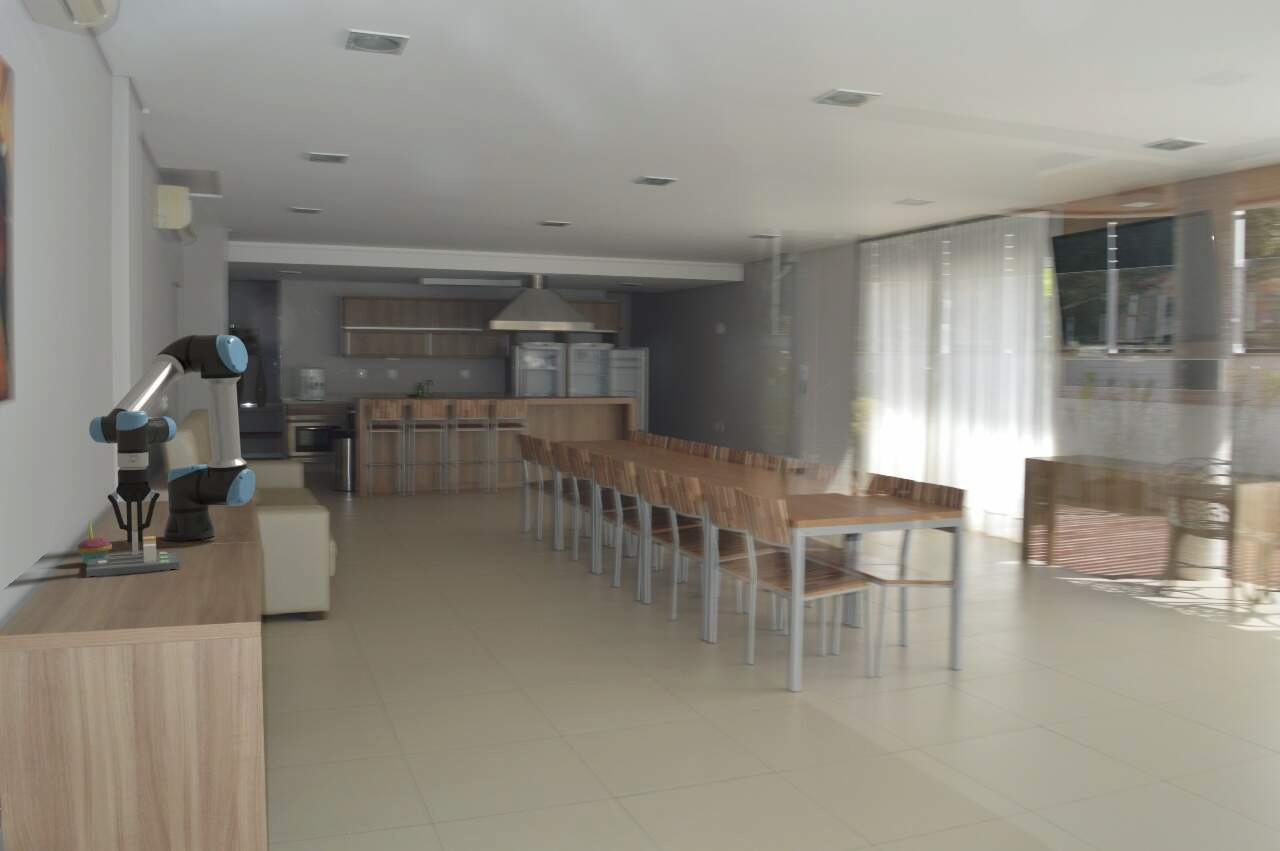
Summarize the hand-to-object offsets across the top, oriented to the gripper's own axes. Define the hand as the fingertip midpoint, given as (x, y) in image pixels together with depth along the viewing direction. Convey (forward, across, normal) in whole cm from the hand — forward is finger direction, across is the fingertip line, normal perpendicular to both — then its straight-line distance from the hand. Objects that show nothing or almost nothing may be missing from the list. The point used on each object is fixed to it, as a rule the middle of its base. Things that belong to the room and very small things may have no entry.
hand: (135, 554), depth 268 cm
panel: (+4, 0, 0) cm, 4 cm away
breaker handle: (+1, +4, 0) cm, 4 cm away
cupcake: (+4, -10, +12) cm, 16 cm away
